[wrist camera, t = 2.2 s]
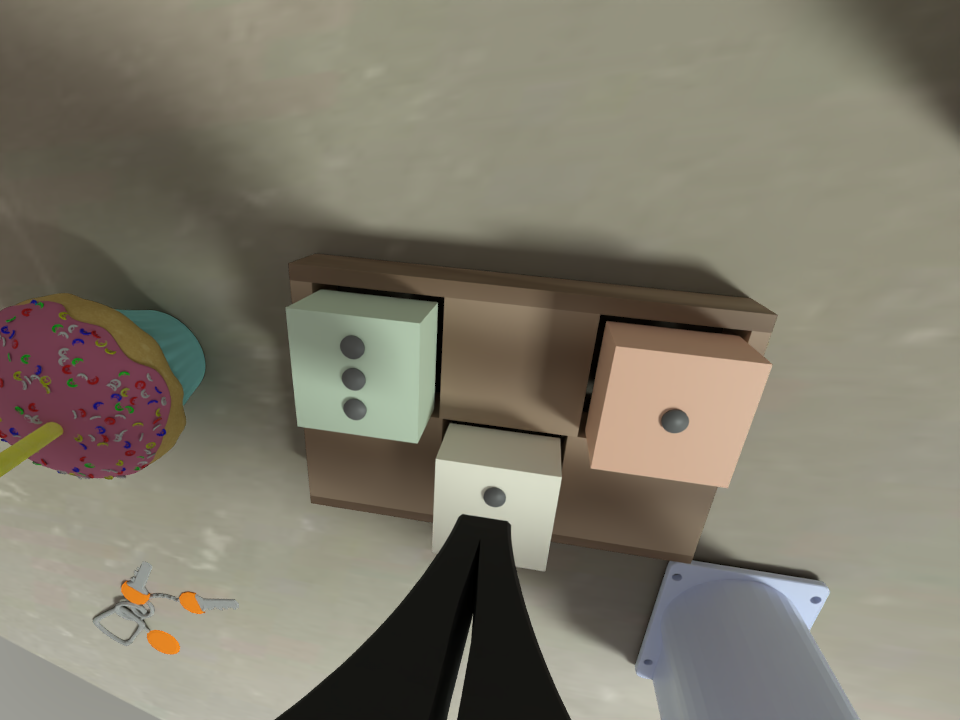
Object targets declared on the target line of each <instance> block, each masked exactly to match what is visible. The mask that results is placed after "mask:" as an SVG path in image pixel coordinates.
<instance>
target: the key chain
mask: <svg viewBox="0 0 960 720" xmlns="http://www.w3.org/2000/svg"><path fill="white" fill-rule="evenodd" d="M137 569H138V570H139V571H136V570H135V571H134V573H135V574H134V575H135V576H136V577H135V576H134V577H133V578H131V581H129V582H128V581H126V582H125V583H124V584H123V585H122V589H121V591H122V593H123V595H124V597H125V598H126V599H127V600H129V601H122V602H119V603H117V604H116V606H115V608H113V609H111V610H109V611H106V612H104V613H102V614H101V615H99V616H97V617H95V618H94V620H93V623H94V624H95V626H96V627H97V628H99V629H100V630H101V631H102V632H103V633H104V634H106V635H107V636H109V637H110V638H112V639H113V640H115V641H117V642H118V643H120V644H122V645H125V646H128V645H130V644H131V643H132V641H133V640H134V639H135V637H136V636H137V635H138V634H139V632H140V631H142V630H143V629H145V630H146V631H147V632H149V633H147V639H148V642H149V643H150V644H151V646H152V647H154V648H155V649H156V650H158V651H160V652H162V653H165V654H176V653H178V652H179V650H180V646H179V643H178V642H177V640H176V639H175V638H174V637H173V636H171V635H170V634H168V633H166V632H163V631H160V630H152V631H150V630H149V629H147V628H146V627H145V625H146V624H145V623H144V622H143V621H142V620H143V619H145V618H149V617H151V616H153V614H154V611H155V609H154V606H153V604H152V603H151V602H150V601H149V600H150V599H152V598H154V597H155V598H156V597H162V598H168V599H173V600H174V601H176V602H180V603H181V605H182V606H183V607H184V608H185V609H186V610H188V611H190V612H192V613H196V614H201V613H205V610H206V609H207V608H208V610H212V609H214V608H213V607H216V609H219V610H223V609H222V608H225V609H228V608H233V609H236V608H239V603H238V602H237V601H236V600H233V599H203V598H202V597H200V596H198V595H197V594H196V593H193V592H184V593H182V594H181V596H180V597H179V598H176V597H175V596H170V595H168V594H165V595H163V594H161V593H159V594H157V593H156V594H153V595H152V594H151V595H150V593H148V591H147V589H146V588H145V584H146V582H147V580H148V577H149V574H150V572H151V569H152V565H150V564H149V563H148V562H144V561H143V563H142V564H141V566H140V568H139V567H137ZM145 603H146V604H147V605H148V606H149V608H150V613H149V614H148V613H147V610H146V609H145V607H144V606H143V605H141V604H145ZM123 606H130V608H131V610H132V611H133V613H132V612H131V611H129V610H128V609H126V608H125V607H123ZM137 609H138V610H137ZM139 610H140V611H141V612H142V613H141V612H140V611H139ZM115 612H116V614H118V615H119V616H120V617H122V618H124V619H127V620H131V621H135V622H137V623H138V624H139V626H138V630H137V631H136V632H135V633H134V635H133V636H132V637H131V639H129V640H127V641H124V640H122V639H120V638H118V637H117V636H115V635H113V634H112V633H110V632H109V631H108V630H107V629H105V628H104V627H103V626H102V625H101V624H100V623H99V621H100V620H101V619H103V618H105V617H107V616H109V615H111V614H113V613H115ZM135 614H136V615H137V616H139V617H137V616H136V615H135Z"/></svg>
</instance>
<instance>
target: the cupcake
mask: <svg viewBox="0 0 960 720" xmlns="http://www.w3.org/2000/svg"><path fill="white" fill-rule="evenodd" d="M204 374H205V358H204V354H203V351H202V348H201V346H200V344H199V342H198V340H197V339H196V337H195V336H194V335H193V333H192V332H191V331H190V330H189V329H188V328H187V327H186V326H185V325H184V324H183V323H181V322H180V321H179V320H177V319H176V318H174V317H172V316H170V315H168V314H166V313H163V312H159V311H154V310H117V309H112V308H110V307H108V306H105V305H103V304H100V303H97V302H94V301H90V300H86V299H82V298H80V297H78V296H75V295H73V294H69V293H59V294H53V295H48V296H44V297H38V298H33V299H29V300H26V301H23V302H21V303H18V304H16V305H14V306H10V307H7V308H5V309H3V310H1V311H0V437H1V438H3V439H1V441H5V442H8V443H9V444H10V445H12V446H10V447H9V448H7V449H6V450H4V451H3V452H1V453H0V477H1V476H3V475H4V474H6V473H7V472H9V471H10V470H11V469H13V468H14V467H16V466H17V465H19V464H20V463H21V462H23V461H24V460H26V459H27V458H28V459H30V460H32V461H34V462H33V464H36V465H42V466H45V467H48V468H51V469H54V470H57V472H58V473H62V474H70V475H75V476H77V477H78V478H79V479H80V480H81V479H82V478H85V479H90V478H105V479H113V477H118V478H126V476H125V475H130V474H133V473H136V472H138V471H140V470H142V469H143V468H145V467H147V466H148V465H149V464H151V463H153V462H154V461H156V460H157V459H159V458H160V457H162V456H163V455H164V454H165V453H167V452H168V451H169V450H170V449H171V448H172V447H173V446H174V445H175V443H176V441H177V439H178V437H179V436H180V434H181V433H182V431H183V429H184V428H185V425H186V416H185V413H184V409H183V406H184V405H185V403H186V402H187V400H188V399H189V397H190V396H191V395H192V393H193V392H194V391H195V389H196V388H197V387H198V386H199V384H200V383H201V381H202V379H203V377H204ZM79 476H80V477H79ZM81 477H82V478H81ZM109 477H111V478H109Z"/></svg>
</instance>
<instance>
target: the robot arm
mask: <svg viewBox="0 0 960 720" xmlns="http://www.w3.org/2000/svg"><path fill="white" fill-rule="evenodd" d="M674 574H677V575H674ZM829 592H830V591H829V589H828V587H827V586H826V584H825V583H824V582H822V581H818V580H812V579H806V578H799V577H793V576H787V575H781V574H774V573H768V572H762V571H756V570H749V569H743V568H737V567H731V566H724V565H718V564H712V563H706V562H699V561H693V560H692V562H691V564H687V563H680V562H674V561H670V562H669V563H668V566H667V569H666V572H665V575H664V578H663V581H662V584H661V587H660V590H659V593H658V597H657V600H656V603H655V606H654V609H653V612H652V615H651V618H650V621H649V624H648V627H647V631H646V634H645V637H644V640H643V643H642V646H641V649H640V652H639V655H638V658H637V661H636V665H635V670H636V674H637V675H638V676H640V677H642V678H647V679H652V680H653V683H654V688H655V693H656V698H657V702H658V707H659V712H660V717H661V720H860V718H859V717H858V715H857V713H856V711H855V710H854V708H853V706H852V704H851V703H850V701H849V699H848V697H847V696H846V694H845V692H844V690H843V689H842V687H841V685H840V683H839V682H838V680H837V678H836V676H835V675H834V673H833V671H832V669H831V667H830V666H829V664H828V662H827V660H826V659H825V657H824V655H823V653H822V652H821V650H820V648H819V646H818V645H817V643H816V641H815V639H814V638H813V636H812V634H811V632H810V629H811V627H812V625H813V623H814V621H815V620H816V618H817V616H818V614H819V612H820V610H821V608H822V606H823V605H824V603H825V601H826V599H827V597H828V595H829ZM472 616H473V624H472V638H471V646H470V652H469V658H468V663H467V669H466V674H465V680H464V685H463V691H462V697H461V702H460V707H459V713H458V718H457V720H571V718H570V716H569V714H568V712H567V710H566V708H565V706H564V704H563V702H562V700H561V698H560V696H559V693H558V691H557V689H556V687H555V684H554V682H553V680H552V677H551V675H550V673H549V670H548V668H547V665H546V663H545V660H544V658H543V655H542V653H541V650H540V647H539V645H538V642H537V639H536V636H535V633H534V631H533V628H532V625H531V621H530V618H529V615H528V612H527V609H526V605H525V602H524V598H523V595H522V591H521V587H520V583H519V579H518V575H517V570H516V566H515V560H514V555H513V548H512V540H511V524H510V523H509V522H508V521H504V520H498V519H491V518H485V517H479V516H472V515H466V514H462V515H460V516H459V517H458V519H457V521H456V523H455V525H454V527H453V529H452V531H451V533H450V535H449V536H448V538H447V540H446V541H445V543H444V545H443V546H442V548H441V549H440V551H439V553H438V554H437V555H436V557H435V558H434V560H433V561H432V563H431V564H430V566H429V567H428V569H427V570H426V571H425V573H424V574H423V576H422V577H421V578H420V580H419V581H418V582H417V583H416V585H415V586H414V587H413V588H412V590H411V591H410V592H409V594H408V595H407V596H406V597H405V599H404V600H403V601H402V602H401V603H400V605H399V606H398V607H397V608H396V609H395V610H394V612H393V613H392V614H391V615H390V616H389V617H388V618H387V620H386V621H385V622H384V623H383V624H382V625H381V626H380V627H379V628H378V629H377V630H376V631H375V632H374V633H373V634H372V635H371V636H370V637H369V638H368V639H367V640H366V641H365V642H364V643H363V644H362V645H361V646H360V647H359V648H358V649H357V650H356V651H355V652H354V653H353V654H352V655H351V656H350V657H349V658H348V659H347V660H346V661H345V662H344V663H343V664H342V665H341V666H340V667H338V668H337V669H336V670H335V671H334V672H333V673H331V674H330V675H329V676H328V677H327V678H326V679H324V680H323V681H322V682H321V683H320V684H319V685H317V686H316V687H315V688H314V689H313V690H312V691H311V692H309V693H308V694H307V695H306V696H305V697H303V698H302V699H301V700H300V701H298V702H297V703H296V704H295V705H293V706H292V707H291V708H289V709H288V710H287V711H285V712H284V713H283V714H281V715H280V716H279V717H277V718H276V719H275V720H447V716H448V712H449V707H450V703H451V699H452V695H453V691H454V687H455V683H456V679H457V675H458V671H459V667H460V663H461V659H462V655H463V651H464V647H465V643H466V639H467V636H468V632H469V628H470V624H471V620H472Z"/></svg>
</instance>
